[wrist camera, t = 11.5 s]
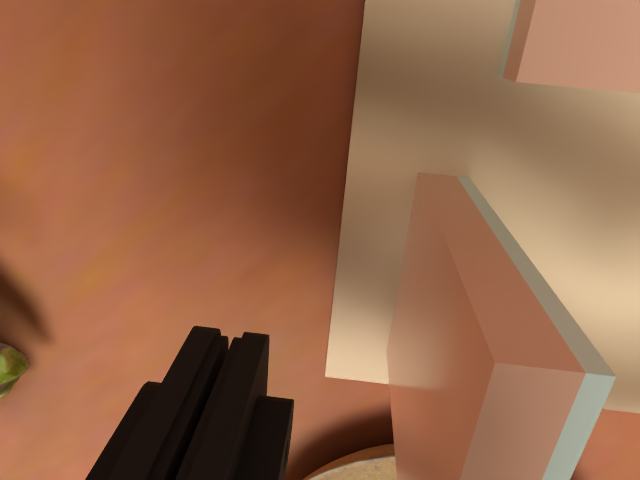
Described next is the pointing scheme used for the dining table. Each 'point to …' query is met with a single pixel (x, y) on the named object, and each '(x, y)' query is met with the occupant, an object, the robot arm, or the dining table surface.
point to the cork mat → (486, 178)
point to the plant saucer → (361, 466)
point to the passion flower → (10, 367)
